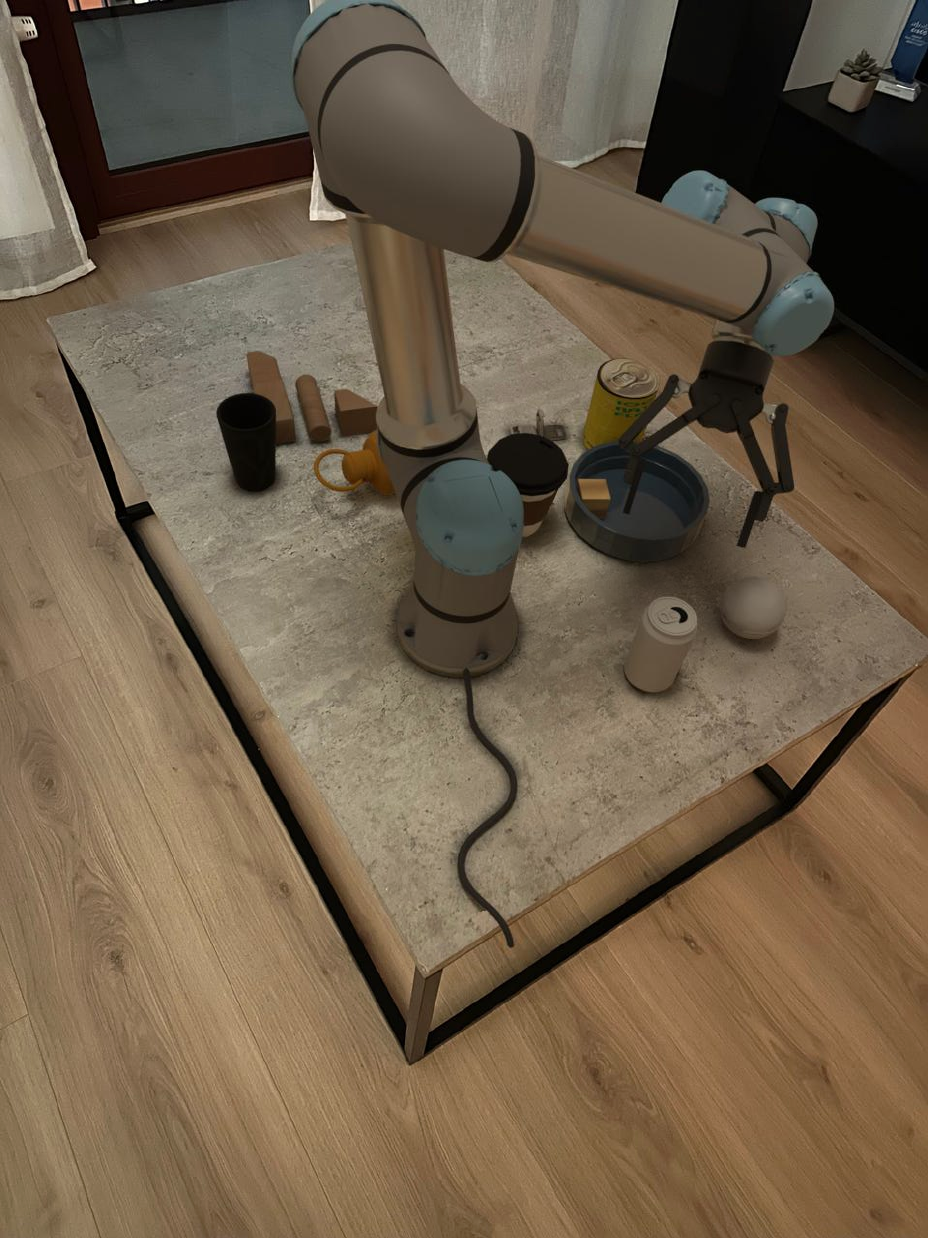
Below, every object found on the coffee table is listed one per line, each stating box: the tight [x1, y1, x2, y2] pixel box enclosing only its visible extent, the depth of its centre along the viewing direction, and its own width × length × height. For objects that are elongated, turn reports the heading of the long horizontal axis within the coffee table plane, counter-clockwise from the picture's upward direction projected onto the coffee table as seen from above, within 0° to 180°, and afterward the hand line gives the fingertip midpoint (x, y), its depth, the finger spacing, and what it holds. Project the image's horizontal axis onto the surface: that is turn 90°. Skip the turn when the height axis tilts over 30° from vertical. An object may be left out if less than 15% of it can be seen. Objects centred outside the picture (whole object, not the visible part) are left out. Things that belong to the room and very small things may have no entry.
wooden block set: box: [246, 350, 378, 446], centre depth 136 cm, size 17×6×18 cm
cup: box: [215, 392, 277, 493], centre depth 123 cm, size 8×8×12 cm
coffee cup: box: [486, 433, 570, 538], centre depth 121 cm, size 11×11×12 cm
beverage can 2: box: [623, 596, 698, 693], centre depth 107 cm, size 6×6×12 cm
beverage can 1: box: [581, 357, 661, 451], centre depth 134 cm, size 9×9×12 cm
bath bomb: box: [719, 576, 787, 640], centre depth 115 cm, size 8×8×8 cm
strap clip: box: [509, 408, 567, 441], centre depth 136 cm, size 8×3×4 cm, turn 100°
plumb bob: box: [313, 430, 395, 496], centre depth 126 cm, size 9×9×25 cm
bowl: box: [563, 441, 711, 563], centre depth 127 cm, size 20×20×5 cm
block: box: [576, 479, 610, 519], centre depth 126 cm, size 4×4×4 cm
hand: (682, 530), depth 104 cm, fingers open, 13 cm apart
